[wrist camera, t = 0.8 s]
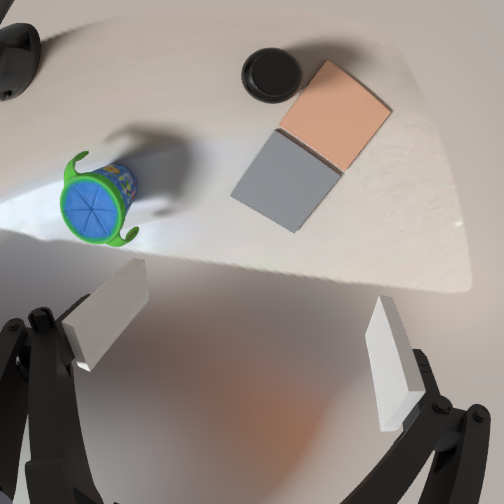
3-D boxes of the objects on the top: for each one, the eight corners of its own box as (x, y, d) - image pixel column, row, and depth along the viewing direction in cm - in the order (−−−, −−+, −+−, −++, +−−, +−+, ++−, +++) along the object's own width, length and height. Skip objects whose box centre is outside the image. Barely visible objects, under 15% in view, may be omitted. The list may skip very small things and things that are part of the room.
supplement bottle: (298, 94, 35) (316, 100, 25) (250, 105, 36) (249, 114, 26) (286, 50, 32) (299, 37, 22) (237, 61, 33) (230, 52, 23)
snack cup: (74, 158, 40) (40, 180, 31) (122, 128, 38) (89, 144, 29) (116, 233, 48) (92, 266, 39) (164, 213, 46) (145, 246, 37)
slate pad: (230, 194, 44) (230, 196, 43) (274, 129, 38) (275, 130, 38) (293, 231, 48) (294, 233, 47) (339, 174, 42) (340, 176, 41)
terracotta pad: (278, 124, 38) (279, 124, 37) (326, 60, 32) (327, 59, 32) (343, 169, 41) (344, 171, 41) (388, 111, 36) (390, 112, 35)
